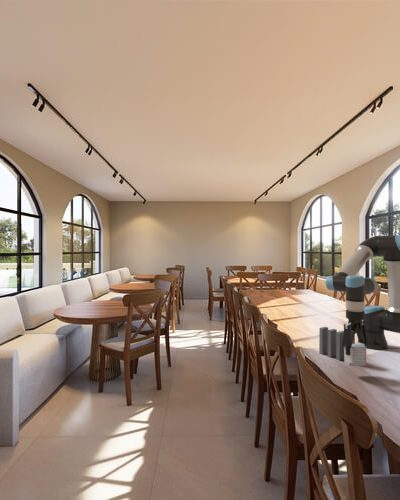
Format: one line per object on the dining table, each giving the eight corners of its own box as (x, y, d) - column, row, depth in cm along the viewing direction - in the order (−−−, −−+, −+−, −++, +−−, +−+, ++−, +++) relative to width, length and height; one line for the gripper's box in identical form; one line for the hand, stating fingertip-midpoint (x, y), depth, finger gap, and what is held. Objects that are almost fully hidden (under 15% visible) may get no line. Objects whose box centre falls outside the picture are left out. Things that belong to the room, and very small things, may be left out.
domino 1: (325, 351, 165) (325, 326, 165) (328, 352, 164) (328, 327, 164) (319, 353, 163) (319, 327, 163) (322, 354, 161) (322, 328, 161)
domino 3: (342, 357, 157) (342, 330, 157) (345, 358, 155) (345, 331, 155) (336, 359, 154) (336, 332, 154) (339, 360, 153) (339, 333, 153)
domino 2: (333, 354, 161) (333, 328, 161) (336, 355, 160) (336, 329, 159) (327, 356, 158) (327, 330, 158) (330, 357, 157) (330, 330, 157)
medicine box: (361, 362, 138) (360, 343, 138) (366, 365, 133) (366, 346, 133) (344, 362, 137) (344, 343, 137) (349, 366, 133) (349, 347, 133)
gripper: (360, 305, 144) (360, 352, 144) (332, 311, 132) (333, 362, 133) (376, 308, 137) (376, 357, 138) (349, 314, 126) (349, 368, 126)
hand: (355, 359), depth 135 cm, fingers closed on medicine box, 9 cm apart
